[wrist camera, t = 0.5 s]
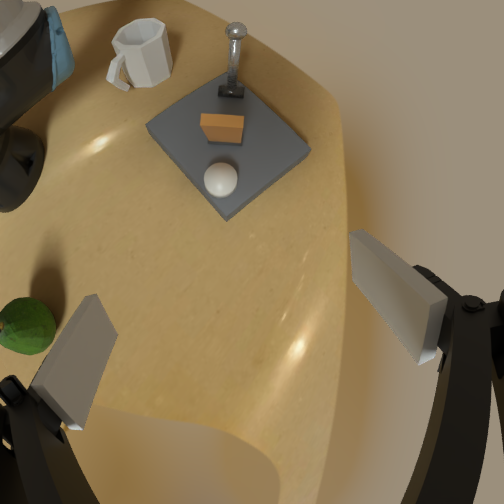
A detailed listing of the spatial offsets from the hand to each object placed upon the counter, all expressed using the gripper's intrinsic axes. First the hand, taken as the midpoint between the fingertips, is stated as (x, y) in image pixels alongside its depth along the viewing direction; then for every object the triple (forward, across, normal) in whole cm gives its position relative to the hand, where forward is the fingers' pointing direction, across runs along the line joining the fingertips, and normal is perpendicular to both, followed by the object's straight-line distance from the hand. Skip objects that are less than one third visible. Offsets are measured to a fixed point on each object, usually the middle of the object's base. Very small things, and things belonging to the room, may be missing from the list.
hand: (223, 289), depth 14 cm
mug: (+38, -9, +21) cm, 44 cm away
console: (+30, +2, +6) cm, 31 cm away
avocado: (+18, -30, -10) cm, 37 cm away
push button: (+24, 0, +1) cm, 24 cm away
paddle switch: (+26, +2, +6) cm, 27 cm away
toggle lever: (+30, +4, +13) cm, 33 cm away
